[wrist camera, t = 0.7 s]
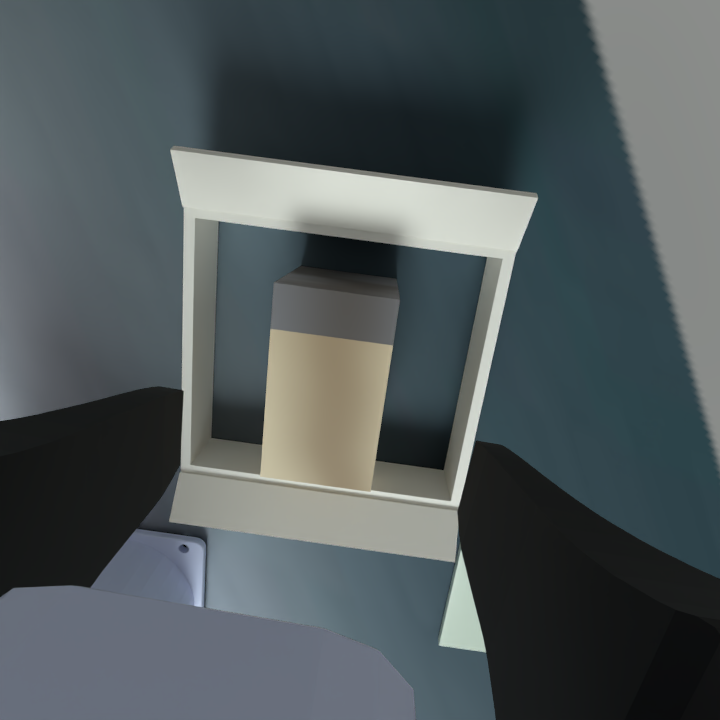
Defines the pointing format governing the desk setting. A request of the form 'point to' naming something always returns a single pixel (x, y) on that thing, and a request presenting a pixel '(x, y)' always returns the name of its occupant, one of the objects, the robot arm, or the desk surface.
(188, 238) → the white flat frame
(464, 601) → the pad
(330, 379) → the block
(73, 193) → the desk surface
